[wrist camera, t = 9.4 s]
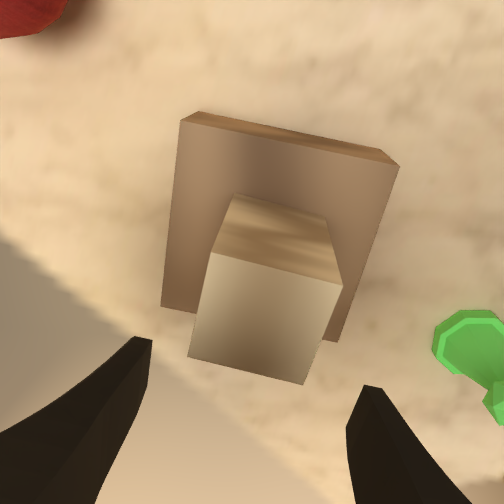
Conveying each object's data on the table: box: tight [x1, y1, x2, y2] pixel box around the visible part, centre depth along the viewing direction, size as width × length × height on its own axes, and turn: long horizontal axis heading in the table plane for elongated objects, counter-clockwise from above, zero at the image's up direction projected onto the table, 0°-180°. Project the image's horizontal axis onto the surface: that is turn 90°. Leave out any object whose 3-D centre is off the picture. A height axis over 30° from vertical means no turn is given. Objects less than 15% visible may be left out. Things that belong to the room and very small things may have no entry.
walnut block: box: [161, 111, 400, 343], centre depth 20 cm, size 9×9×4 cm
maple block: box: [187, 193, 343, 385], centre depth 15 cm, size 4×4×6 cm
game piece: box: [432, 310, 504, 426], centre depth 21 cm, size 4×4×6 cm
